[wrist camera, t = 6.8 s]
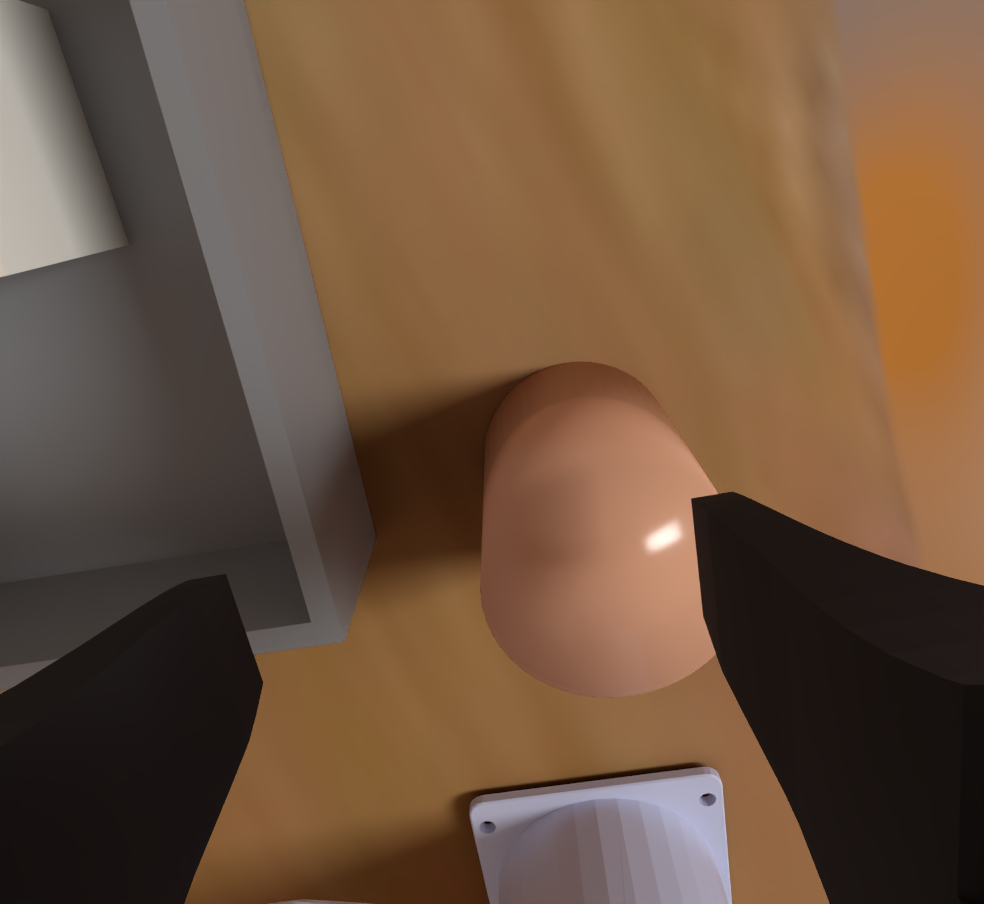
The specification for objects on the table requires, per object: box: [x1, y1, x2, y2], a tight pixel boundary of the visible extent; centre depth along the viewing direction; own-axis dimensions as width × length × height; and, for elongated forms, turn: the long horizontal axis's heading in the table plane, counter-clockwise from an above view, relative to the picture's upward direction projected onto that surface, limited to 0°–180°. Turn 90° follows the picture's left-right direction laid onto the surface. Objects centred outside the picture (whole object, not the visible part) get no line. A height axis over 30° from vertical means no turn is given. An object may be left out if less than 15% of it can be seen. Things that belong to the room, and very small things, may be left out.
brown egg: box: [480, 362, 718, 698], centre depth 18 cm, size 5×5×7 cm
